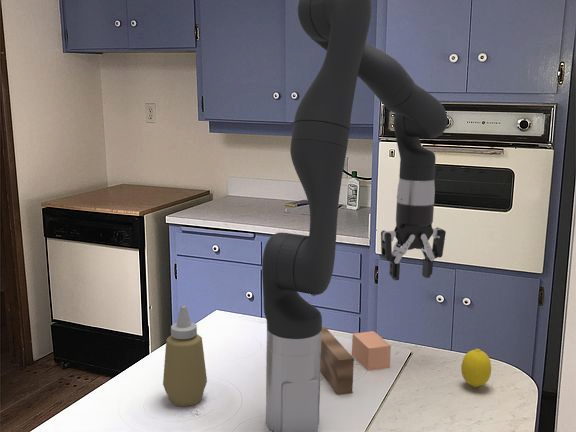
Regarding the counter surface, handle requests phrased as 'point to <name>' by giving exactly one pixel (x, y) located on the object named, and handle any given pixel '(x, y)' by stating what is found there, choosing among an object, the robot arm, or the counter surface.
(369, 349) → the terracotta block
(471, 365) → the lemon
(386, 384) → the counter surface
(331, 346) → the walnut plank
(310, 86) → the robot arm
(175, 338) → the squeeze bottle
